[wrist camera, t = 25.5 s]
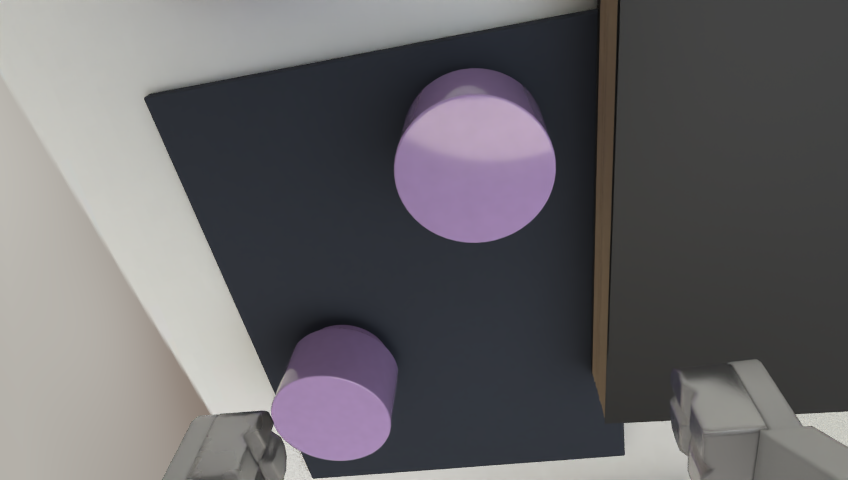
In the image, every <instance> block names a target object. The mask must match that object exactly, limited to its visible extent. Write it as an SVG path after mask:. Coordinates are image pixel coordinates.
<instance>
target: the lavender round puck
mask: <svg viewBox="0 0 848 480" xmlns="http://www.w3.org/2000/svg"><path fill="white" fill-rule="evenodd" d="M397 382H398V367H397V364H396V361H395V359H394V357H393V355H392V354H391V353H390V351H389V350H388V349H387V348H386V347H385V345H384V344H383V343H382V341H381V340H380V339H379V338H378V337H376V336H375V335H374V334H372V333H371V332H369V331H367V330H365V329H362V328H360V327H356V326H352V325H333V326H328V327H325V328H323V329H321V330H318V331H315V332H313V333H311V334H309V335H307V336H305V337H304V338H303V339H301V340H300V341H299V342H298V343H297V344H296V346H295V347H294V349H293V351H292V353H291V356H290V358H289V361H288V363H287V366H286V369H285V371H284V374H283V376H282V379H281V382H280V384H279V387H278V389H277V392H276V395H275V397H274V400H273V402H272V407H271V416H272V420H273V421H274V426H275V428H276V430H277V431H278V433H279V434H280V435H281V437H282V438H283V439H284V440H285V441H286V442H288V443H289V444H290V445H291V446H293V447H294V448H296V449H298V450H299V451H301V452H303V453H306V454H308V455H310V456H313V457H317V458H321V459H325V460H333V461H347V460H354V459H359V458H362V457H365V456H368V455H370V454H372V453H373V452H375V451H376V450H378V449H379V448H380V447H381V446H382V445H383V444H384V443H385V442H386V440H387V438H388V436H389V434H390V430H391V424H392V417H393V410H394V403H395V396H396V389H397Z"/></svg>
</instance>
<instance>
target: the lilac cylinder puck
mask: <svg viewBox="0 0 848 480" xmlns="http://www.w3.org/2000/svg"><path fill="white" fill-rule="evenodd" d="M555 175H556V159H555V153H554V149H553V146H552V142H551V139H550V136H549V133H548V130H547V127H546V124H545V121H544V118H543V115H542V112H541V110H540V108H539V106H538V104H537V102H536V100H535V99H534V97H533V96H532V95H531V93H530V92H529V91H528V90H527V89H526V88H525V87H524V86H523V85H521V84H520V83H519V82H518V81H516V80H515V79H513V78H511V77H510V76H507V75H505V74H503V73H501V72H497V71H494V70H489V69H483V68H469V69H461V70H457V71H453V72H450V73H448V74H445V75H443V76H441V77H439V78H437V79H436V80H434V81H433V82H431V83H430V84H429V85H427V86H426V87H425V88H424V89H423V90H422V91H421V92H420V93H419V94H418V96H417V97H416V98H415V99H414V101H413V103H412V104H411V106H410V108H409V110H408V113H407V115H406V118H405V121H404V125H403V129H402V132H401V136H400V139H399V143H398V146H397V150H396V154H395V159H394V179H395V185H396V188H397V191H398V194H399V197H400V199H401V201H402V203H403V204H404V206H405V207H406V209H407V211H408V212H409V213H410V214H411V215H412V216H413V218H414V219H415V220H416V221H418V222H419V223H420V224H421V225H422V226H424V227H425V228H426V229H428V230H429V231H431V232H433V233H435V234H437V235H439V236H441V237H444V238H447V239H450V240H454V241H459V242H466V243H480V242H488V241H494V240H497V239H501V238H504V237H506V236H509V235H511V234H513V233H515V232H517V231H518V230H520V229H522V228H523V227H524V226H526V225H527V224H528V223H530V222H531V221H532V220H533V219H534V218H535V217H536V216H537V215H538V213H539V212H540V211H541V210H542V208H543V207H544V205H545V204H546V202H547V200H548V199H549V196H550V194H551V192H552V189H553V185H554V182H555Z"/></svg>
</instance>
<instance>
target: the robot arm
mask: <svg viewBox="0 0 848 480" xmlns="http://www.w3.org/2000/svg"><path fill="white" fill-rule="evenodd" d="M670 384H671V387H672V389H673V392H674V394H675V395H674V397H673V398H672V399H671V400H670V417H671V424H672V429H673V432H674V436H675V439H676V442H677V444H678V447H679V450H680V451H681V452H683V453H684V454H685V455H687V456H688V473H689V475H690V478H691V480H848V447H847V446H845V445H843V444H842V443H840V442H838V441H837V440H835V439H833V438H832V437H830V436H828V435H826V434H825V433H823V432H821V431H820V430H818V429H816V428H814V427H813V426H806V427H803V426H802V424H801V423H800V421H799V420H798V418H797V417H796V415H795V413H794V412H793V410H792V409H791V407H790V406H789V404H788V403H787V401H786V400H785V398H784V397H783V395H782V393H781V392H780V390H779V389H778V387H777V386H776V384H775V383H774V381H773V380H772V378H771V377H770V375H769V373H768V372H767V370H766V369H765V367H764V366H763V364H762V363H761V362H760V361H758V360H757V359H753V360H744V361H735V362H728V363H718V364H709V365H700V366H691V367H682V368H673V369H672V371H671V374H670ZM273 424H274V421H273V420H272V418H271V416H270V414H269V412H267V411H253V412H239V413H226V414H219V415H206V416H198V417H197V418H196V419H194V420H193V421H192V423H191V424H190V426H189V428H188V430H187V432H186V434H185V436H184V438H183V440H182V442H181V444H180V446H179V448H178V450H177V452H176V454H175V456H174V458H173V459H172V461H171V463H170V465H169V467H168V469H167V471H166V473H165V475H164V477H163V479H162V480H283V479H284V476H285V472H286V458H287V456H286V450H285V445H284V443H283V441H282V439H281V437H280V436H278V435H277V434H275V433H274V432H272V431H271V430H272V427H273Z"/></svg>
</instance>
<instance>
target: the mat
mask: <svg viewBox="0 0 848 480" xmlns="http://www.w3.org/2000/svg"><path fill="white" fill-rule="evenodd" d="M597 19H598V9H593V10H587V11H582V12H577V13H572V14H566V15H561V16H556V17H551V18H545V19H540V20H535V21H530V22H524V23H519V24H514V25H509V26H504V27H498V28H493V29H488V30H483V31H477V32H472V33H467V34H462V35H456V36H451V37H446V38H441V39H436V40H430V41H425V42H420V43H415V44H409V45H404V46H399V47H394V48H388V49H383V50H378V51H373V52H367V53H362V54H357V55H352V56H347V57H341V58H336V59H331V60H326V61H320V62H315V63H310V64H305V65H299V66H294V67H289V68H284V69H278V70H273V71H268V72H263V73H258V74H252V75H247V76H242V77H237V78H231V79H226V80H221V81H216V82H210V83H205V84H200V85H195V86H189V87H184V88H179V89H174V90H169V91H163V92H158V93H153V94H149V95H148V96H146V97H145V98H144V100H145V102H146V104H147V106H148V109H149V111H150V113H151V115H152V118H153V120H154V122H155V124H156V127H157V129H158V131H159V133H160V136H161V138H162V140H163V142H164V145H165V147H166V149H167V151H168V154H169V156H170V158H171V160H172V163H173V165H174V167H175V169H176V172H177V174H178V176H179V178H180V181H181V183H182V185H183V187H184V190H185V192H186V194H187V196H188V199H189V201H190V203H191V205H192V208H193V210H194V212H195V214H196V217H197V219H198V221H199V223H200V226H201V228H202V230H203V232H204V235H205V237H206V239H207V241H208V244H209V246H210V248H211V250H212V253H213V255H214V257H215V259H216V262H217V264H218V266H219V268H220V271H221V273H222V275H223V277H224V280H225V282H226V284H227V286H228V289H229V291H230V293H231V296H232V298H233V300H234V302H235V305H236V307H237V309H238V311H239V314H240V316H241V318H242V320H243V323H244V325H245V327H246V329H247V332H248V334H249V336H250V338H251V341H252V343H253V345H254V347H255V350H256V352H257V354H258V356H259V359H260V361H261V363H262V365H263V368H264V370H265V372H266V374H267V377H268V379H269V381H270V383H271V386H272V388H273V390H274V392H275V395H276V392H277V389H278V387H279V384H280V382H281V379H282V376H283V374H284V371H285V369H286V366H287V363H288V361H289V358H290V356H291V353H292V351H293V349H294V347H295V346H296V344H297V343H298V342H299V341H300V340H301V339H303V338H304V337H305V336H307V335H309V334H311V333H313V332H315V331H318V330H321V329H323V328H325V327H328V326H333V325H352V326H356V327H360V328H362V329H365V330H367V331H369V332H371V333H372V334H374V335H375V336H376V337H378V338H379V339H380V340H381V341H382V343H383V344H384V345H385V347H386V348H387V349H388V350H389V351H390V353H391V354H392V355H393V357H394V359H395V361H396V364H397V367H398V382H397V389H396V396H395V403H394V410H393V417H392V424H391V430H390V434H389V436H388V438H387V440H386V442H385V443H384V444H383V445H382V446H381V447H380V448H379V449H378V450H376V451H375V452H373V453H372V454H370V455H368V456H365V457H362V458H359V459H354V460H347V461H333V460H325V459H321V458H317V457H313V456H310V455H308V454H306V453H303V452H301V453H302V455H303V458H304V460H305V462H306V464H307V467H308V469H309V471H310V473H311V476H312V478H313V479H315V478H328V477H341V476H355V475H368V474H382V473H395V472H408V471H422V470H435V469H448V468H462V467H475V466H489V465H502V464H515V463H529V462H542V461H556V460H569V459H582V458H596V457H609V456H623V455H625V451H624V424H623V423H611V424H605V417H604V414H603V408H602V404H601V401H599V394H598V389H597V388H596V382H594V377H593V375H591V332H592V280H593V229H594V176H595V124H596V72H597ZM469 68H483V69H489V70H494V71H497V72H501V73H503V74H505V75H507V76H510V77H511V78H513V79H515V80H516V81H518V82H519V83H520V84H521V85H523V86H524V87H525V88H526V89H527V90H528V91H529V92H530V93H531V95H532V96H533V97H534V99H535V100H536V102H537V104H538V106H539V108H540V110H541V112H542V115H543V118H544V121H545V124H546V127H547V130H548V133H549V136H550V139H551V142H552V146H553V149H554V153H555V159H556V175H555V182H554V185H553V189H552V192H551V194H550V196H549V199H548V200H547V202H546V204H545V205H544V207H543V208H542V210H541V211H540V212H539V213H538V215H537V216H536V217H535V218H534V219H533V220H532V221H531V222H530V223H528V224H527V225H526V226H524V227H523V228H522V229H520V230H518V231H517V232H515V233H513V234H511V235H509V236H506V237H504V238H501V239H497V240H494V241H488V242H480V243H466V242H459V241H454V240H450V239H447V238H444V237H441V236H439V235H437V234H435V233H433V232H431V231H429V230H428V229H426V228H425V227H424V226H422V225H421V224H420V223H419V222H418V221H416V220H415V219H414V218H413V216H412V215H411V214H410V213H409V212H408V211H407V209H406V207H405V206H404V204H403V203H402V201H401V199H400V197H399V194H398V191H397V188H396V185H395V179H394V159H395V154H396V150H397V146H398V143H399V139H400V136H401V132H402V129H403V125H404V121H405V118H406V115H407V113H408V110H409V108H410V106H411V104H412V103H413V101H414V99H415V98H416V97H417V96H418V94H419V93H420V92H421V91H422V90H423V89H424V88H425V87H426V86H427V85H429V84H430V83H431V82H433V81H434V80H436V79H437V78H439V77H441V76H443V75H445V74H448V73H450V72H453V71H457V70H461V69H469Z"/></svg>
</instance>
